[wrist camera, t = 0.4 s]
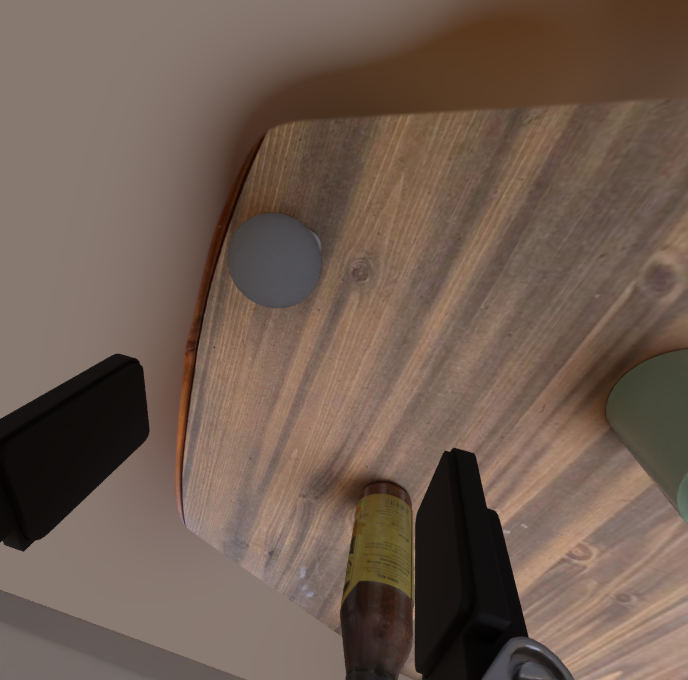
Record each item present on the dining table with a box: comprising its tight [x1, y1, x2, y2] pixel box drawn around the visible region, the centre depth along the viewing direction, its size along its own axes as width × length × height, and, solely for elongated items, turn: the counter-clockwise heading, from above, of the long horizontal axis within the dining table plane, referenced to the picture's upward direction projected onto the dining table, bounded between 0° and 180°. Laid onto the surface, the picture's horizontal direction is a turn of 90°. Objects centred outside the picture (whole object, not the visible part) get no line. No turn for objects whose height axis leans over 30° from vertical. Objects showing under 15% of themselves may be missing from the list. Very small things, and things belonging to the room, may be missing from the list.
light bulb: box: [228, 213, 322, 308], centre depth 24 cm, size 6×6×10 cm
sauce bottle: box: [340, 482, 414, 680], centre depth 30 cm, size 6×6×20 cm
